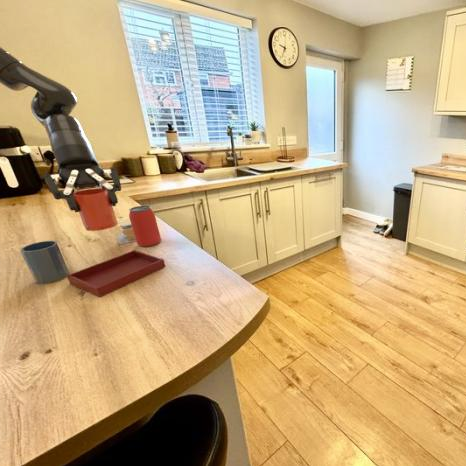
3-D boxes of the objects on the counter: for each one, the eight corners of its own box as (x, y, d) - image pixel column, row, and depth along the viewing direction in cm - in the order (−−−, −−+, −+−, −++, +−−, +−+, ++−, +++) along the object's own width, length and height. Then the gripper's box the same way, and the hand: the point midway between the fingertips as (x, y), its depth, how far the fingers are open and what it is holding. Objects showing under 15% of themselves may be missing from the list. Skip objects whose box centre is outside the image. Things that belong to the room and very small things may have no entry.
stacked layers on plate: (151, 237, 98) (147, 222, 96) (119, 244, 93) (113, 228, 91) (147, 229, 105) (143, 215, 103) (117, 235, 100) (112, 220, 98)
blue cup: (44, 286, 71) (29, 253, 67) (30, 280, 73) (14, 248, 69) (75, 274, 76) (63, 243, 73) (61, 269, 78) (48, 238, 75)
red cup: (95, 232, 69) (82, 196, 66) (79, 228, 72) (66, 193, 68) (123, 224, 75) (113, 190, 71) (108, 220, 77) (97, 187, 74)
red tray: (99, 297, 67) (96, 288, 66) (70, 283, 72) (66, 275, 71) (165, 266, 80) (163, 259, 79) (136, 257, 85) (134, 249, 84)
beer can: (165, 242, 95) (156, 207, 91) (143, 249, 90) (132, 212, 86) (155, 237, 99) (146, 203, 94) (134, 243, 94) (123, 208, 89)
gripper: (110, 159, 81) (131, 209, 78) (38, 165, 71) (59, 221, 68) (108, 141, 75) (130, 193, 72) (29, 144, 66) (51, 205, 63)
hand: (95, 207), depth 70 cm, fingers closed on red cup, 6 cm apart
